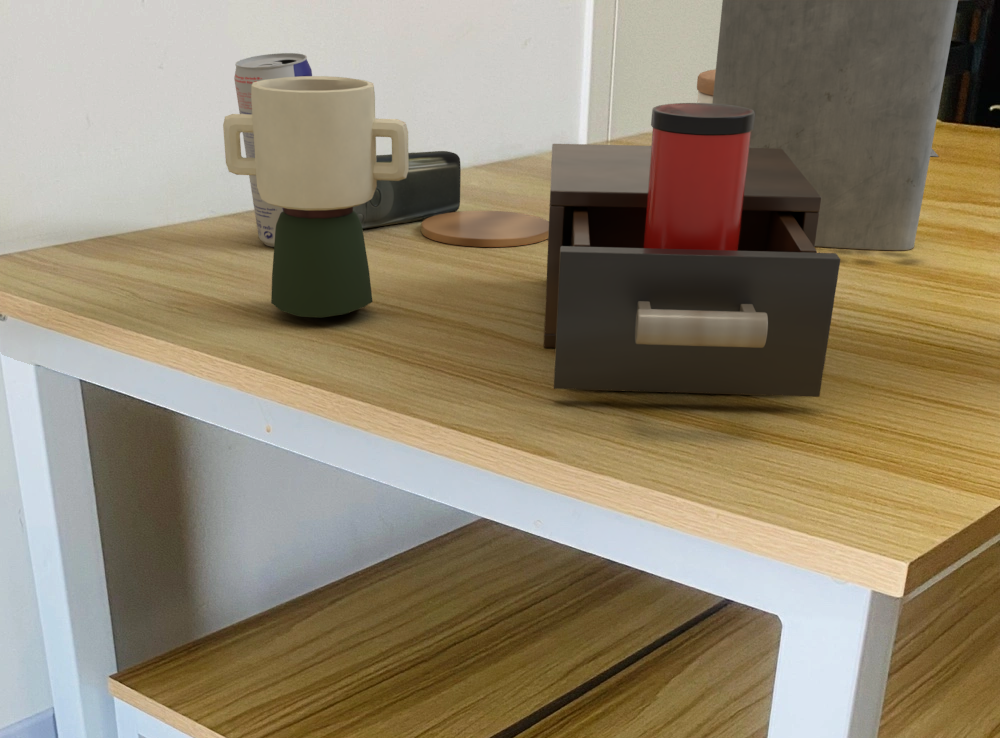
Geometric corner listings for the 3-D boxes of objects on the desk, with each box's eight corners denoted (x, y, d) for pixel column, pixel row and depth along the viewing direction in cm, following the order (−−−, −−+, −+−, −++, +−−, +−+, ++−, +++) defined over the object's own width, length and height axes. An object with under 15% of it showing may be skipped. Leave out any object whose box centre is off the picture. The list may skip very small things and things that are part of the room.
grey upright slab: (914, 242, 103) (969, -64, 92) (912, 254, 100) (969, -62, 89) (703, 226, 107) (732, -69, 96) (694, 237, 104) (724, -67, 93)
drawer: (833, 426, 65) (857, 281, 62) (553, 417, 66) (560, 273, 62) (780, 318, 81) (796, 198, 78) (555, 312, 82) (560, 193, 78)
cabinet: (799, 355, 78) (821, 197, 74) (543, 347, 79) (550, 190, 74) (765, 286, 91) (782, 148, 87) (546, 280, 92) (552, 143, 88)
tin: (723, 332, 75) (749, 103, 69) (733, 359, 71) (761, 118, 65) (632, 329, 75) (649, 101, 69) (636, 356, 71) (655, 116, 65)
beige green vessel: (419, 302, 87) (417, 78, 80) (399, 334, 81) (397, 94, 74) (251, 295, 88) (236, 73, 81) (220, 325, 82) (201, 88, 75)
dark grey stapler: (443, 145, 110) (295, 161, 100) (469, 150, 108) (321, 167, 99) (441, 210, 112) (297, 232, 103) (467, 216, 110) (323, 239, 101)
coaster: (552, 219, 108) (553, 212, 108) (551, 249, 100) (552, 240, 100) (426, 216, 109) (426, 208, 109) (415, 245, 100) (415, 236, 100)
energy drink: (346, 234, 101) (325, 55, 94) (290, 253, 98) (264, 70, 91) (300, 223, 104) (277, 50, 97) (244, 241, 101) (216, 64, 94)
